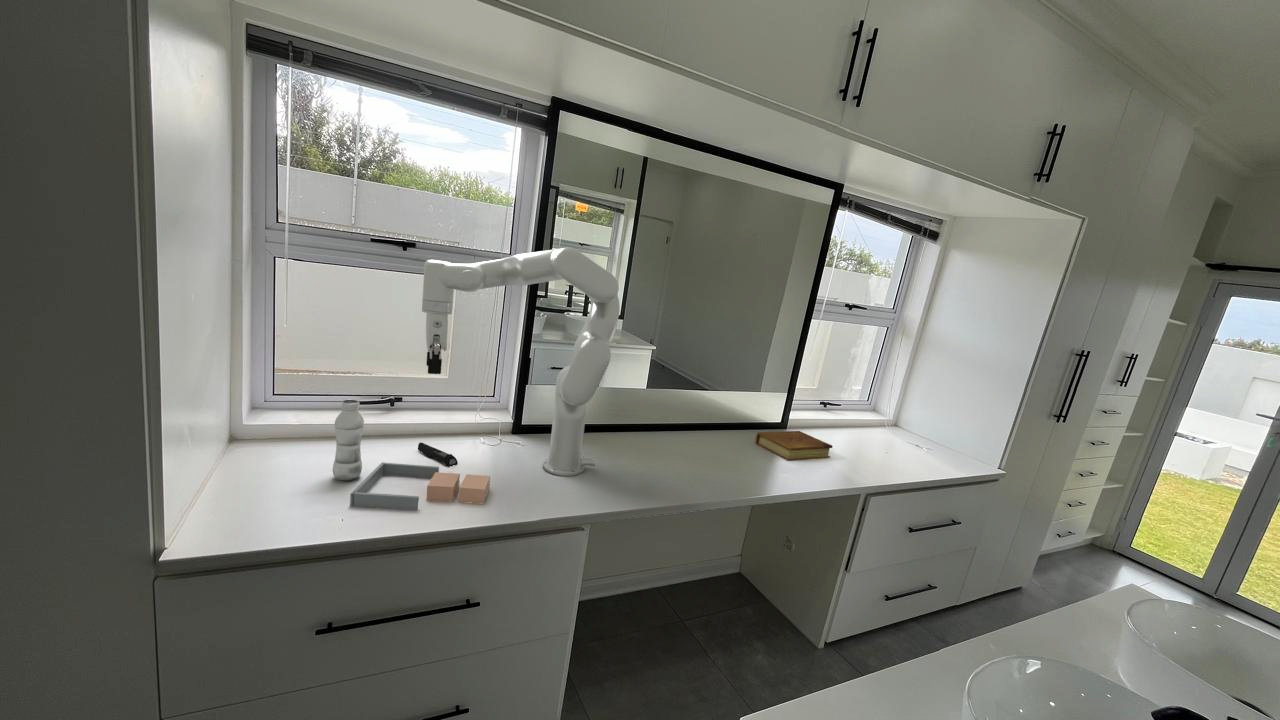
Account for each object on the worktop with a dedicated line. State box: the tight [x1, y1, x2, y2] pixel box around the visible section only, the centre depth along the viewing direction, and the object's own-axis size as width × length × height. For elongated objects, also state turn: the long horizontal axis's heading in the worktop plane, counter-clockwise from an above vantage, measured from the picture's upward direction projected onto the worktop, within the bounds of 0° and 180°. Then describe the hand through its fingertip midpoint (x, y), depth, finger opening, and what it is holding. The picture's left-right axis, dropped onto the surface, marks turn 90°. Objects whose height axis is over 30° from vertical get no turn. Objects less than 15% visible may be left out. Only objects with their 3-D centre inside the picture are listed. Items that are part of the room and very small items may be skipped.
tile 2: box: [457, 473, 491, 504], centre depth 123 cm, size 6×8×4 cm
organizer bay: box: [349, 462, 440, 511], centre depth 120 cm, size 14×18×3 cm
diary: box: [754, 430, 833, 462], centre depth 197 cm, size 23×19×6 cm
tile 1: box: [425, 471, 461, 502], centre depth 122 cm, size 6×8×4 cm
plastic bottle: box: [332, 399, 365, 481], centre depth 122 cm, size 6×7×20 cm
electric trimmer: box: [417, 441, 458, 468], centre depth 143 cm, size 4×16×3 cm, turn 57°
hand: (433, 369), depth 133 cm, fingers open, 9 cm apart
